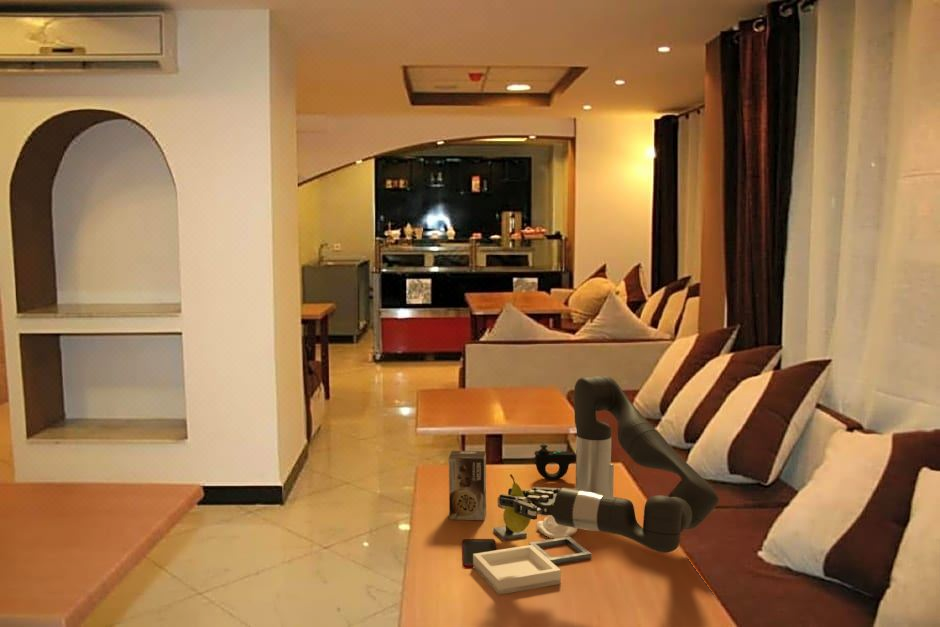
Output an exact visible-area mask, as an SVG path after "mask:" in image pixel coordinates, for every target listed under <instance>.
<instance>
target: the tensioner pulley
mask: <svg viewBox="0 0 940 627" xmlns="http://www.w3.org/2000/svg"><path fill="white" fill-rule="evenodd" d="M497 507H498V508H500V509H503V510H505V508H506V507H507V506H503V505H500V504H499V496H498V497H497ZM493 533H495V535H496V536H498V537H499V538H500V539H501V540H502V539H503V540H505V541H510V540H509V539H511V540H516V539H515V538H518V539H523V538H522V537H524V538H527V535H528V534H527V532H526V531H525V529H524V530H523V531H522V532H518V533H516V532H513V531H511V530H510V529H509V528H508V527H507V526H506V525H501V526H494V527H493Z"/></svg>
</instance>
